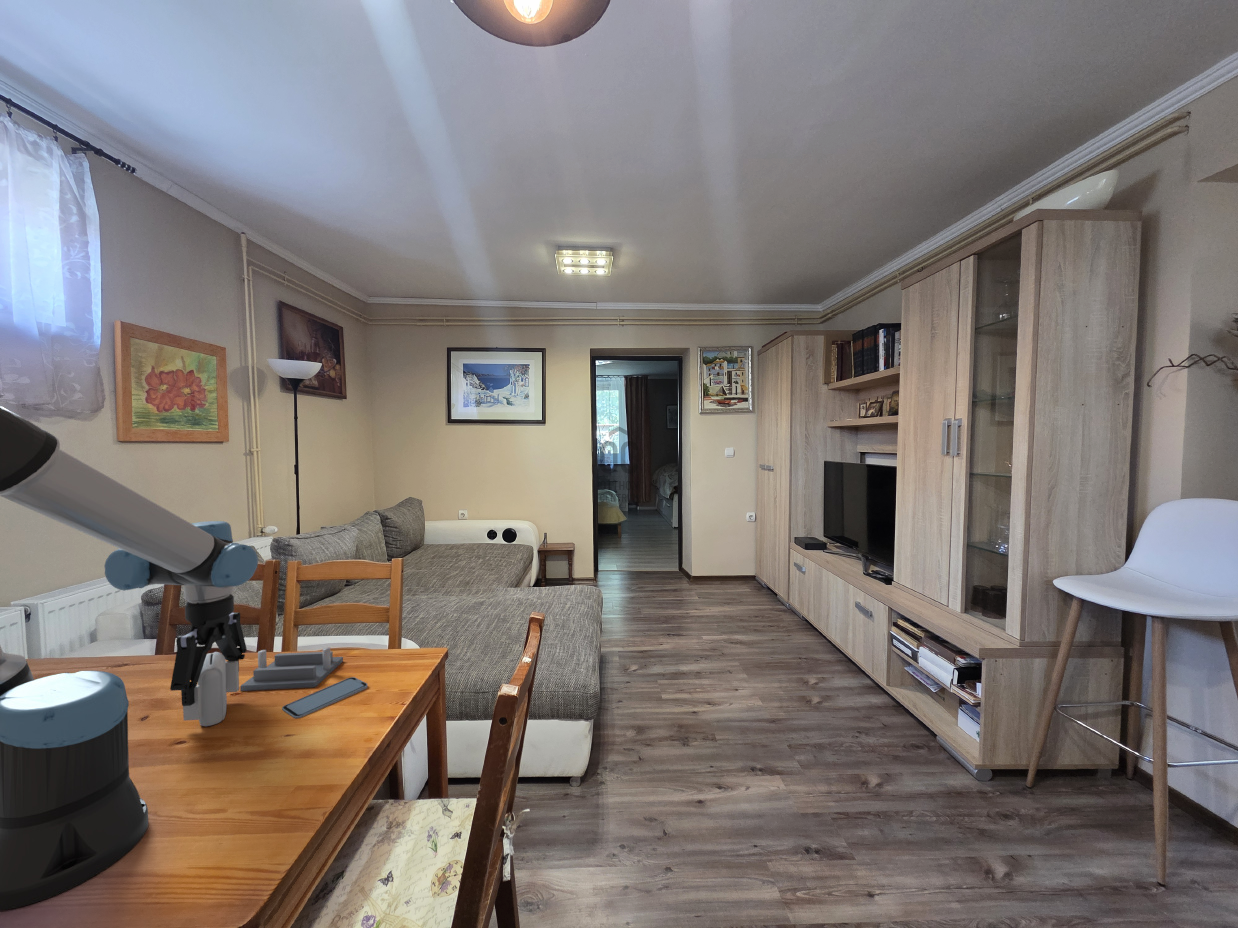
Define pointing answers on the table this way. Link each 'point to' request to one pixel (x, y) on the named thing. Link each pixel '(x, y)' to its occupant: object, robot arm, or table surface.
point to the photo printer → (213, 689)
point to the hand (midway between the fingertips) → (212, 704)
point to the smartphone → (324, 697)
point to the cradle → (292, 670)
